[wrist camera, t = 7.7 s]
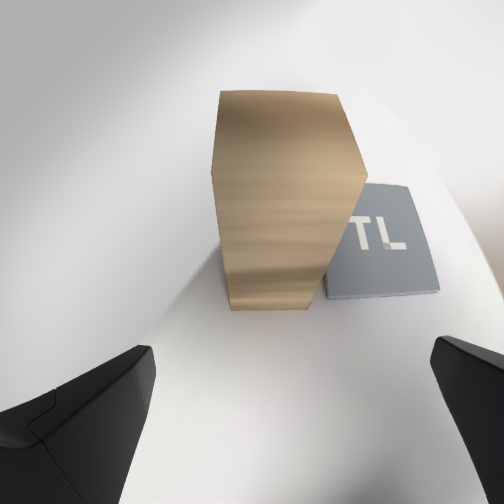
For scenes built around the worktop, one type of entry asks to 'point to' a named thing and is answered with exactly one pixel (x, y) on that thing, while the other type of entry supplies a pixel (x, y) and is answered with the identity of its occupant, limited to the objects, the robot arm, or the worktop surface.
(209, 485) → the worktop surface
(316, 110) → the oak block
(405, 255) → the tile
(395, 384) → the worktop surface
